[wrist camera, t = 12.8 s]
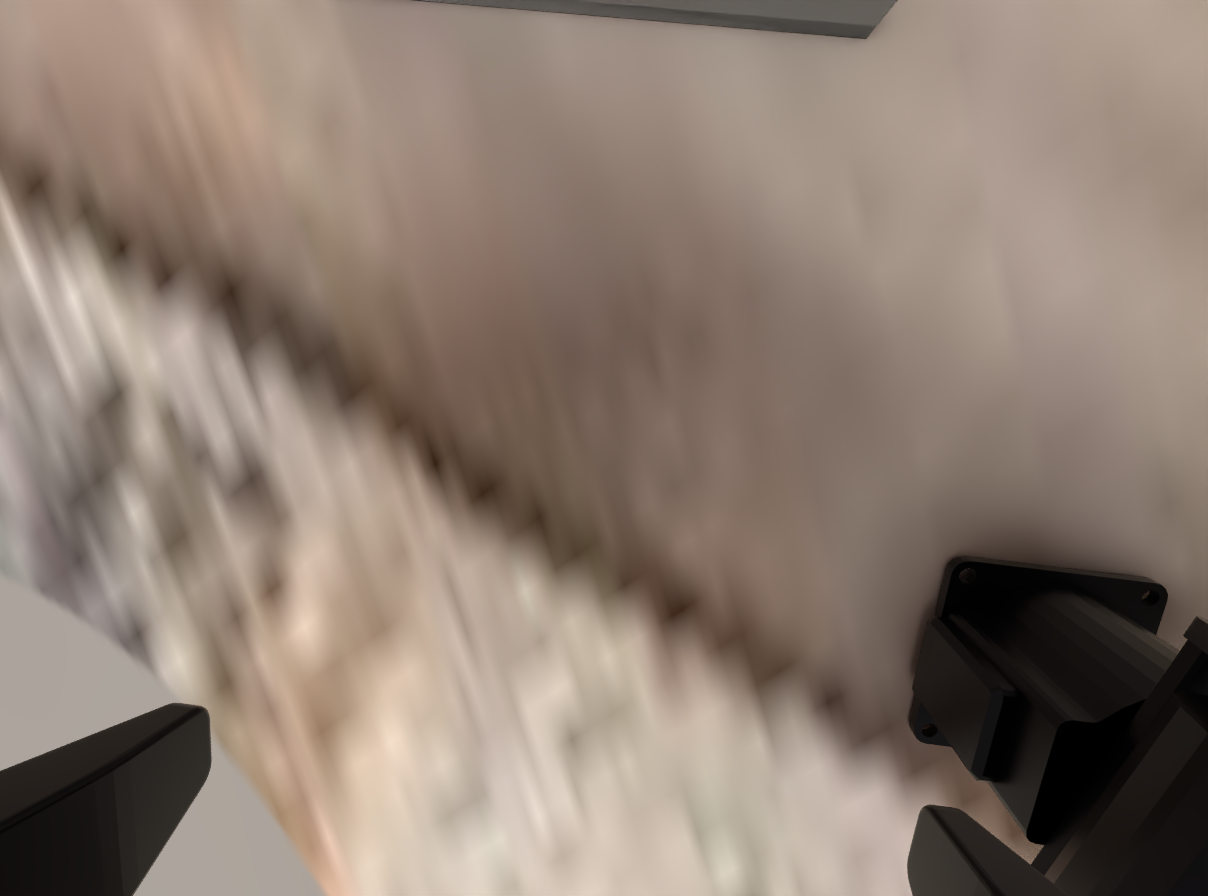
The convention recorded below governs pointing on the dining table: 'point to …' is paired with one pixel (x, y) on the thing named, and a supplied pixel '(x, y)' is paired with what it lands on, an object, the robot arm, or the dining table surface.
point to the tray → (726, 12)
